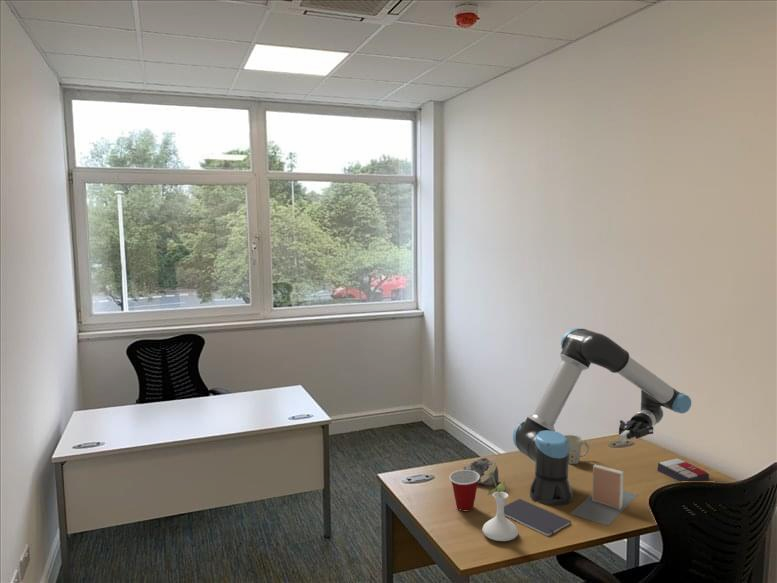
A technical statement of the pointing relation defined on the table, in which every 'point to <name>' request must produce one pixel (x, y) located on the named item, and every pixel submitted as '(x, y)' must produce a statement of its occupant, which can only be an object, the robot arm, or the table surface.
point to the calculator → (682, 471)
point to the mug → (575, 448)
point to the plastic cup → (464, 488)
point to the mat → (602, 509)
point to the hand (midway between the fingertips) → (621, 438)
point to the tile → (607, 486)
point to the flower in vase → (498, 513)
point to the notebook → (535, 517)
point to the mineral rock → (483, 470)
